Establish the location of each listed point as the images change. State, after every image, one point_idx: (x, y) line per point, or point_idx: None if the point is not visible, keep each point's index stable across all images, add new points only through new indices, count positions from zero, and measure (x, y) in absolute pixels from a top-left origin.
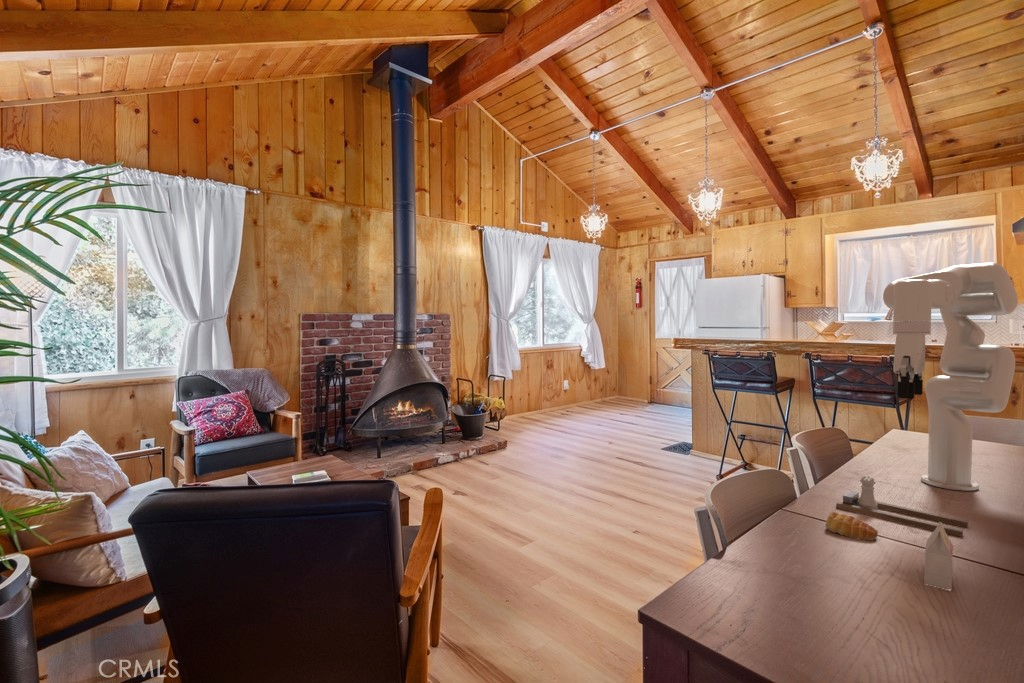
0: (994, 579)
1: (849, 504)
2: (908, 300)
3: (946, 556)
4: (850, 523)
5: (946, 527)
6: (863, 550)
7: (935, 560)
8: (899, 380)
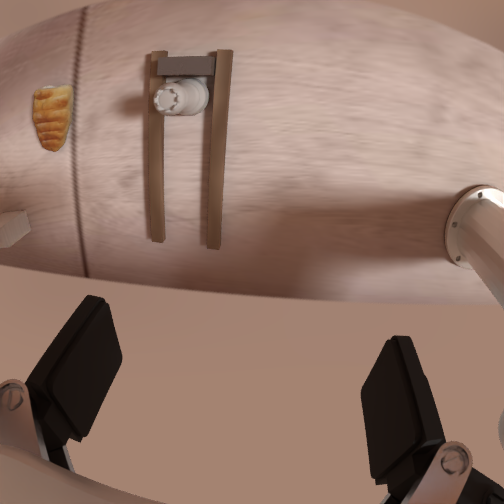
0: (55, 261)
1: None
2: None
3: None
4: (36, 122)
5: (153, 223)
6: (21, 148)
7: None
8: (4, 390)
